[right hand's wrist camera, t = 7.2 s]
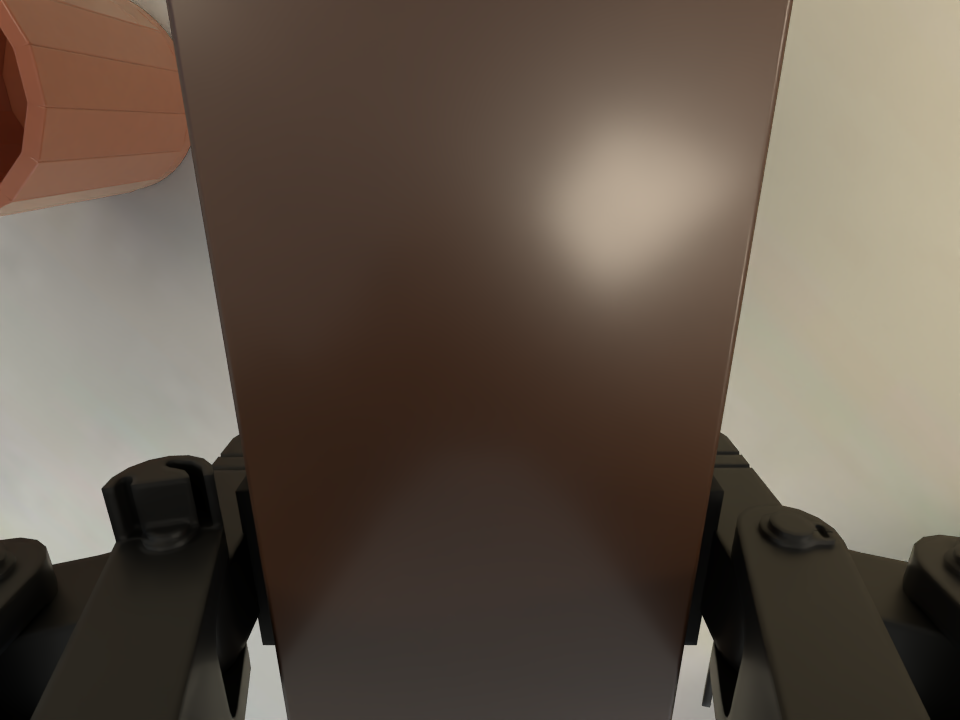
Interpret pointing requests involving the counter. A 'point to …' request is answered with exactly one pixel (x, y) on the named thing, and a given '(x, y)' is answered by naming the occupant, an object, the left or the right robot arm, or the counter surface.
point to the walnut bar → (479, 331)
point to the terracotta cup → (85, 102)
